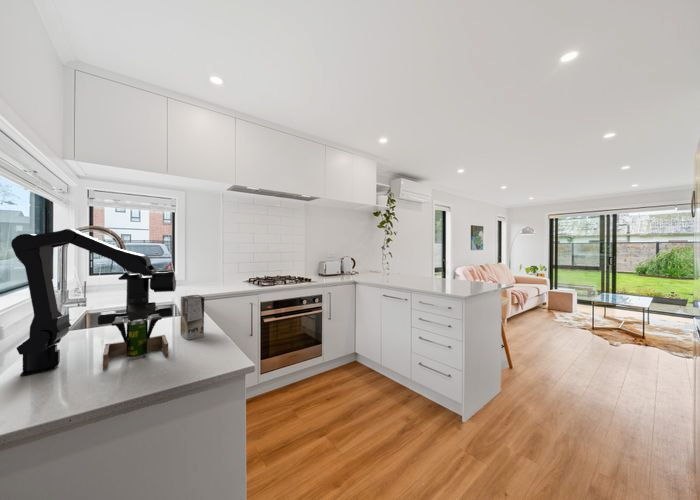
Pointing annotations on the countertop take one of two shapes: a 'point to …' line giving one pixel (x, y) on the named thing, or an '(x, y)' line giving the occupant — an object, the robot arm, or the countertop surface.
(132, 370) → the countertop surface
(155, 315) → the robot arm
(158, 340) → the wooden u-shaped frame
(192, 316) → the coffee box
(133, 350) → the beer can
